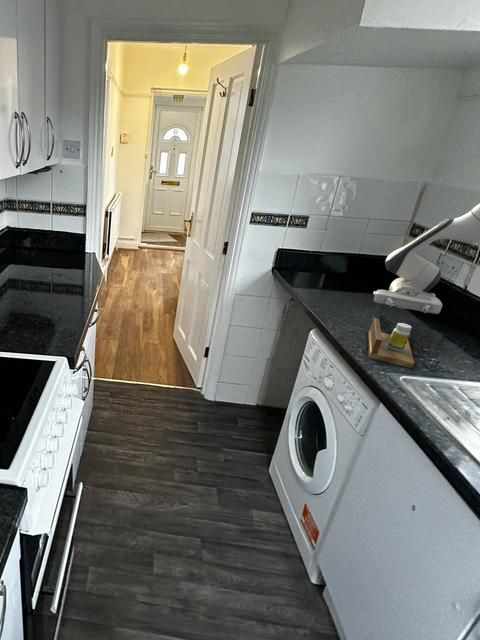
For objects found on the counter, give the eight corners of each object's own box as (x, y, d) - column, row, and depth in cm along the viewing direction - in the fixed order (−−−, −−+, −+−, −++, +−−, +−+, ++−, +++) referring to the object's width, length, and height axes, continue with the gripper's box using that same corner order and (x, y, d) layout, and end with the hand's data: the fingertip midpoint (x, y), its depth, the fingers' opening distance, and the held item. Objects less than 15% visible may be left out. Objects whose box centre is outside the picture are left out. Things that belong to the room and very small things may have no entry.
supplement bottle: (404, 352, 137) (414, 329, 133) (387, 348, 139) (396, 326, 135) (402, 346, 141) (412, 324, 137) (386, 342, 143) (395, 321, 139)
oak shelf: (405, 343, 149) (412, 325, 146) (412, 368, 131) (420, 349, 129) (367, 334, 154) (373, 317, 152) (368, 357, 137) (375, 339, 134)
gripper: (375, 283, 160) (377, 293, 149) (440, 294, 151) (447, 305, 140) (370, 298, 163) (371, 309, 152) (434, 310, 154) (440, 322, 143)
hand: (408, 307), depth 146 cm, fingers open, 8 cm apart
